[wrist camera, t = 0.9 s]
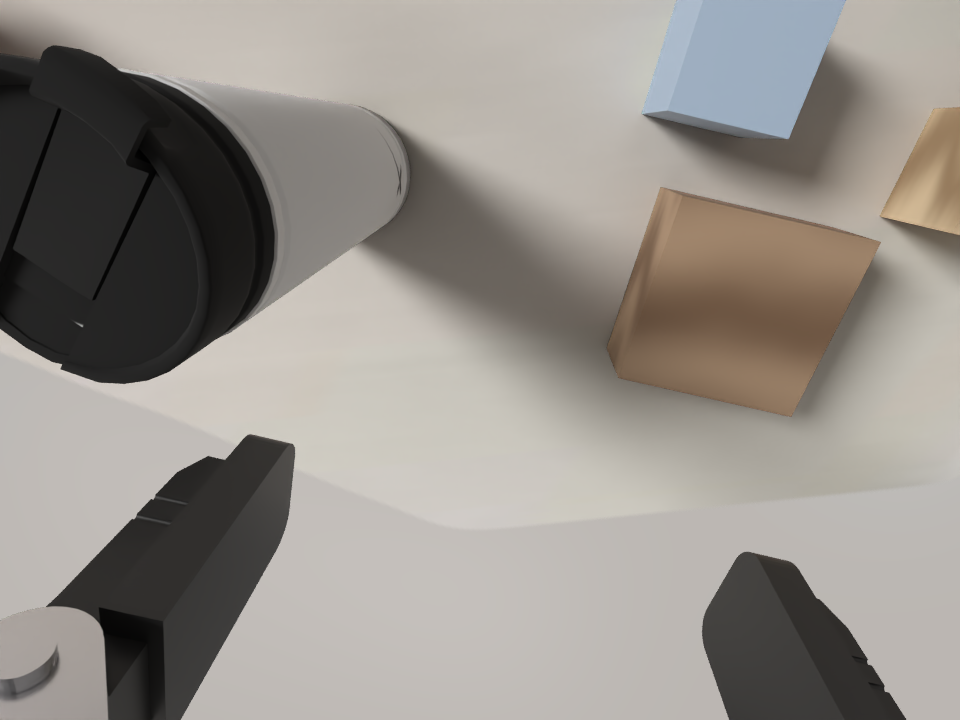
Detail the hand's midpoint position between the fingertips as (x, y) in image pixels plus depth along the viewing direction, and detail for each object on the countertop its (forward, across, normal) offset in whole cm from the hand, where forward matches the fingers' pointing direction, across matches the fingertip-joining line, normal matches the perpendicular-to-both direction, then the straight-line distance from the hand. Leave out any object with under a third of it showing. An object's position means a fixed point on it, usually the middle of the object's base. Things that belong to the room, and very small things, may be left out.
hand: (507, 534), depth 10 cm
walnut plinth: (+21, -11, -1) cm, 24 cm away
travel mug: (+22, +9, -2) cm, 24 cm away
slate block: (+22, -7, -11) cm, 25 cm away
